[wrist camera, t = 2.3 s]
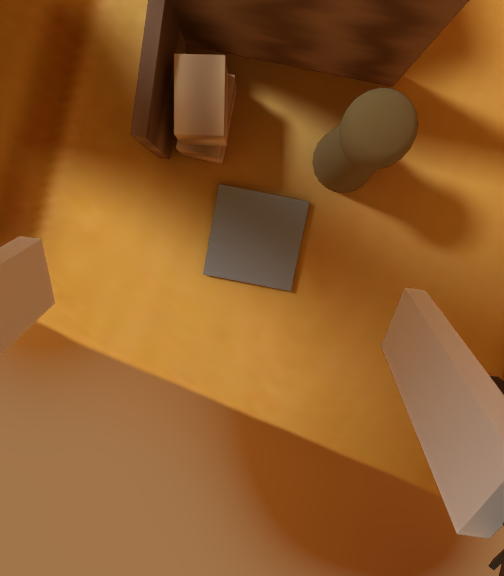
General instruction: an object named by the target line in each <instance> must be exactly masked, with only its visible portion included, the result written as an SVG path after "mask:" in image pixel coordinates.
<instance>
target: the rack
mask: <svg viewBox="0 0 504 576" xmlns="http://www.w3.org/2000/svg"><path fill="white" fill-rule="evenodd" d="M468 1H469V0H148V6H147V13H146V21H145V28H144V36H143V43H142V51H141V58H140V66H139V74H138V81H137V89H136V96H135V104H134V111H133V119H132V127H131V134H130V135H132V136H133V137H134V138H135V139H136V140H138V141H139V142H140V143H141V144H143V145H144V146H145V147H146V148H147V149H149V150H150V151H151V152H152V153H153V154H155V155H156V156H157V157H162V158H167V159H169V156H170V149H171V143H172V136H173V129H174V54H185V49H186V45H190V46H195V47H200V48H205V49H210V50H215V51H220V52H225V53H230V54H235V55H239V56H244V57H249V58H254V59H259V60H264V61H269V62H274V63H279V64H284V65H289V66H294V67H299V68H304V69H309V70H314V71H319V72H324V73H329V74H334V75H339V76H344V77H349V78H354V79H359V80H364V81H369V82H374V83H379V84H384V85H389V86H394V84H395V83H396V82H397V81H398V80H399V79H400V78H401V77H402V75H403V74H404V73H405V72H406V71H407V70H408V69H409V68H410V66H411V65H412V64H413V63H414V62H415V61H416V60H417V58H418V57H419V56H420V55H421V54H422V53H423V52H424V51H425V49H426V48H427V47H428V46H429V45H430V44H431V43H432V42H433V40H434V39H435V38H436V37H437V36H438V35H439V34H440V33H441V31H442V30H443V29H444V28H445V27H446V26H447V25H448V24H449V22H450V21H451V20H452V19H453V18H454V17H455V16H456V15H457V13H458V12H459V11H460V10H461V9H462V8H463V7H464V5H465V4H466V3H467V2H468Z"/></svg>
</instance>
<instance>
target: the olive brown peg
mask: <svg viewBox="0 0 504 576" xmlns="http://www.w3.org/2000/svg"><path fill="white" fill-rule="evenodd" d="M417 128H418V120H417V113H416V110H415V108H414V106H413V104H412V102H411V101H410V100H409V99H408V98H407V97H406V96H405V95H404V94H403V93H401V92H399V91H397V90H394V89H392V88H377V89H373V90H369V91H367V92H365V93H364V94H362V95H360V96H359V97H357V98H356V99H355V100H354V101H353V102H352V103H351V105H350V106H349V107H348V108H347V110H346V111H345V113H344V116H343V118H342V120H341V122H340V125H339V126H337V127H336V128H334V129H333V130H332V131H330V132H329V133H328V134H326V135H325V136H324V137H323V138H322V139H321V140H320V142H319V143H318V144H317V147H316V149H315V151H314V155H313V167H314V172H315V174H316V176H317V178H318V180H319V182H321V183H322V184H323V185H324V186H325V187H326V188H328V189H330V190H332V191H335V192H344V193H345V192H349V191H354V190H356V189H357V188H359V187H361V186H362V185H363V184H364V183H365V182H366V181H367V180H368V179H369V178H370V176H371V175H372V174H373V173H374V172H375V171H376V170H377V169H381V168H385V167H388V166H390V165H392V164H393V163H395V162H397V161H398V160H400V159H401V158H402V157H403V156H404V155H405V154H406V153H407V152H408V151H409V149H410V148H411V146H412V144H413V142H414V140H415V137H416V134H417Z"/></svg>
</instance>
